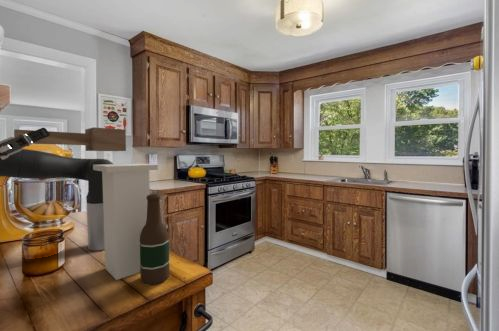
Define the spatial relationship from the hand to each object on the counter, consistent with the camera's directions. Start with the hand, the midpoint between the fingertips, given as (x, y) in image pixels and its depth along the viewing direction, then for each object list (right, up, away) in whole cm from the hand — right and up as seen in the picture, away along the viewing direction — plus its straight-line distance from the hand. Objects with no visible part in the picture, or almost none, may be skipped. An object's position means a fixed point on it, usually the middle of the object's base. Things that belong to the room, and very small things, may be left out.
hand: (45, 131), depth 63 cm
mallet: (+4, -4, +4) cm, 7 cm away
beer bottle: (+23, -41, +10) cm, 48 cm away
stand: (+13, -40, +16) cm, 45 cm away
